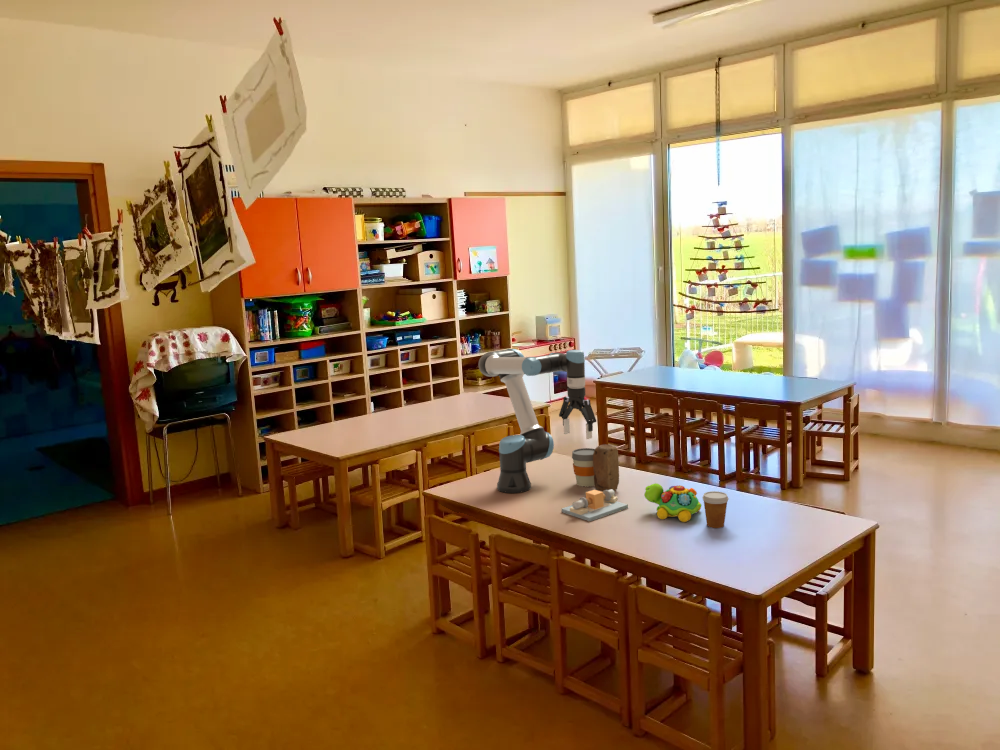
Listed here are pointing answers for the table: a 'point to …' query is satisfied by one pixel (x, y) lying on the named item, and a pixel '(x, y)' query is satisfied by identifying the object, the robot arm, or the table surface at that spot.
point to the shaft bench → (589, 514)
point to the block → (606, 467)
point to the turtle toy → (673, 501)
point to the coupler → (595, 499)
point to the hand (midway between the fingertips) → (577, 436)
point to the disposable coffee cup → (715, 508)
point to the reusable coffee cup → (583, 466)
